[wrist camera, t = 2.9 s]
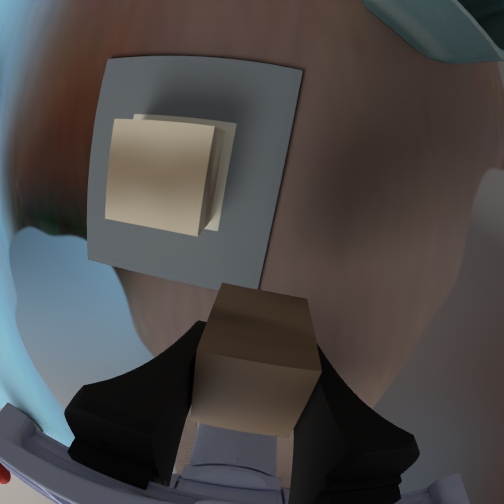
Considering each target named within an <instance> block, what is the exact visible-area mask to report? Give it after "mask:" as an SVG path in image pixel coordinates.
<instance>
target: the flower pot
mask: <svg viewBox="0 0 504 504" xmlns="http://www.w3.org/2000/svg"><path fill="white" fill-rule="evenodd" d="M362 2H363V4H364V5H365V6H366V8H367V9H368V10H369V11H370V12H371V13H373V14H374V15H375V16H377V17H378V18H379V19H381V20H382V21H383V22H384V23H386V24H387V25H388V26H389V27H390V28H392V29H393V30H394V31H395V32H396V33H397V34H399V35H400V36H401V37H402V38H403V39H404V40H405V41H406V42H407V43H408V44H410V45H411V46H412V47H413V48H414V49H415V50H416V51H418V52H420V53H421V54H423V55H425V56H427V57H429V58H431V59H434V60H436V61H440V62H444V63H450V64H463V63H476V62H488V61H504V0H362Z"/></svg>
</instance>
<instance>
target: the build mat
mask: <svg viewBox="0 0 504 504" xmlns="http://www.w3.org/2000/svg"><path fill="white" fill-rule="evenodd" d="M302 72H303V71H302V70H298V69H293V68H288V67H283V66H277V65H271V64H265V63H259V62H252V61H244V60H236V59H226V58H214V57H198V56H142V57H126V58H114V59H108V61H107V65H106V69H105V73H104V77H103V81H102V86H101V91H100V96H99V101H98V106H97V112H96V118H95V124H94V131H93V139H92V147H91V156H90V167H89V180H88V200H87V249H88V259H89V260H92V261H96V262H100V263H104V264H107V265H111V266H115V267H119V268H123V269H127V270H131V271H135V272H139V273H143V274H147V275H151V276H156V277H160V278H164V279H168V280H173V281H177V282H181V283H186V284H190V285H195V286H200V287H204V288H209V289H214V290H218V291H219V289H220V287H221V284H222V283H227V284H232V285H237V286H242V287H247V288H252V289H257V290H258V286H259V281H260V276H261V272H262V267H263V263H264V258H265V254H266V249H267V244H268V240H269V235H270V230H271V226H272V221H273V216H274V211H275V207H276V202H277V197H278V192H279V188H280V183H281V178H282V173H283V168H284V163H285V158H286V153H287V148H288V144H289V139H290V134H291V129H292V124H293V118H294V113H295V108H296V103H297V98H298V93H299V88H300V83H301V77H302ZM114 119H138V120H156V121H170V122H181V123H191V124H200V125H209V126H215V127H218V128H220V129H222V130H224V131H226V132H225V137H224V142H223V148H222V154H221V159H220V165H219V171H218V177H217V183H216V189H215V195H214V201H213V208H212V215H211V221H210V222H209V224H208V225H207V226H206V227H205V228H204V229H203V231H202V232H201V233H200V234H199V235H198V236H192V235H187V234H182V233H177V232H172V231H167V230H161V229H156V228H151V227H146V226H141V225H136V224H130V223H125V222H120V221H115V220H110V219H105V205H106V188H107V175H108V164H109V155H110V147H111V139H112V132H113V125H114Z"/></svg>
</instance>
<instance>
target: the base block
mask: <svg viewBox="0 0 504 504" xmlns="http://www.w3.org/2000/svg"><path fill="white" fill-rule="evenodd" d="M225 132H226V131H224V130H222V129H220V128H218V127H215V126H209V125H200V124H191V123H181V122H170V121H156V120H138V119H114V125H113V132H112V139H111V147H110V155H109V164H108V175H107V188H106V205H105V219H110V220H115V221H120V222H125V223H130V224H136V225H141V226H146V227H151V228H156V229H161V230H167V231H172V232H177V233H182V234H187V235H192V236H198V235H199V234H200V233H201V232H202V231H203V229H204V228H205V227H206V226H207V225H208V224H209V222H210V221H211V215H212V208H213V201H214V195H215V189H216V183H217V177H218V171H219V165H220V159H221V154H222V148H223V142H224V137H225Z"/></svg>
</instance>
